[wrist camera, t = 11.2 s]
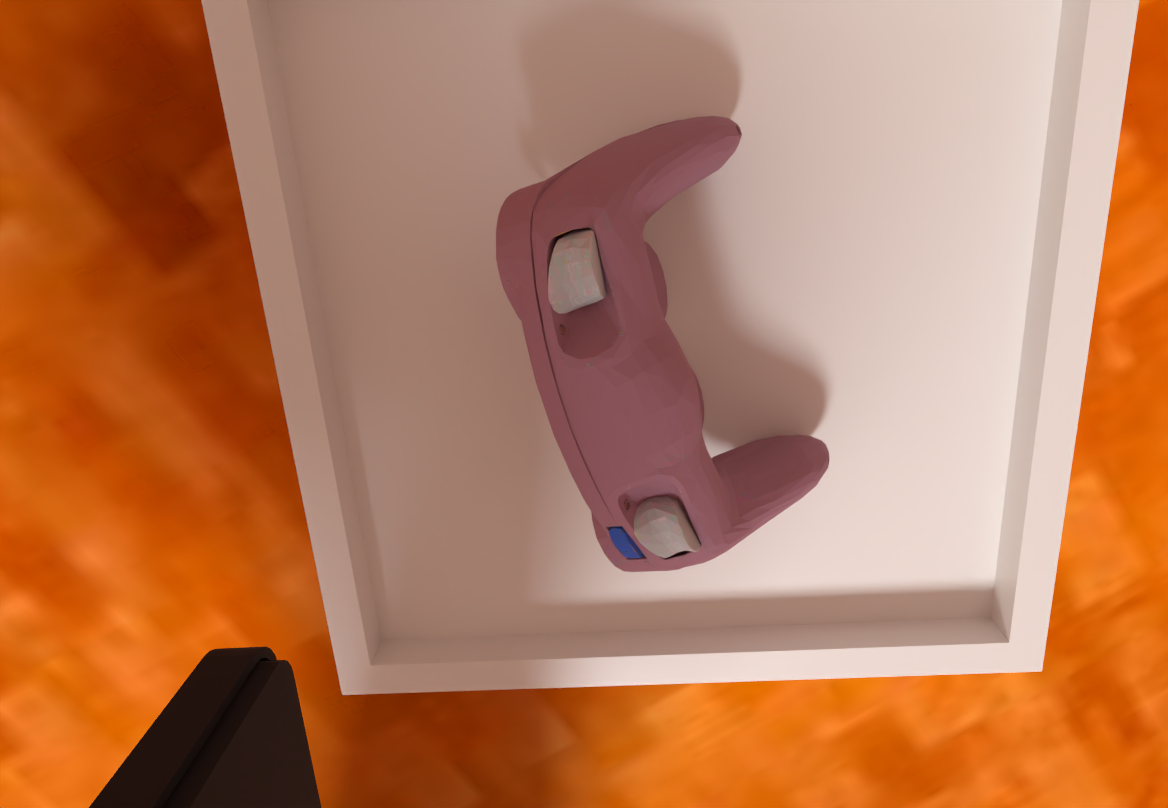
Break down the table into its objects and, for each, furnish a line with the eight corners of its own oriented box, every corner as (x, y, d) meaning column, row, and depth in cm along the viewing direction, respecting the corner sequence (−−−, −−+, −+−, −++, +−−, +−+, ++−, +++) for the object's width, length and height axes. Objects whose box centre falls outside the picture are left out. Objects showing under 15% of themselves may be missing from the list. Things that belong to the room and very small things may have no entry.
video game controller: (579, 146, 21) (414, 219, 16) (745, 89, 19) (615, 152, 13) (690, 476, 24) (583, 631, 19) (845, 464, 22) (772, 638, 17)
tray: (1009, 628, 25) (1041, 671, 23) (361, 652, 26) (341, 695, 24) (1106, -137, 18) (1163, -164, 16) (226, -62, 19) (185, -80, 17)
